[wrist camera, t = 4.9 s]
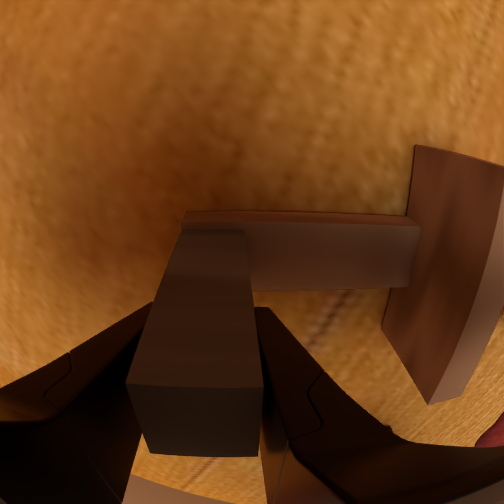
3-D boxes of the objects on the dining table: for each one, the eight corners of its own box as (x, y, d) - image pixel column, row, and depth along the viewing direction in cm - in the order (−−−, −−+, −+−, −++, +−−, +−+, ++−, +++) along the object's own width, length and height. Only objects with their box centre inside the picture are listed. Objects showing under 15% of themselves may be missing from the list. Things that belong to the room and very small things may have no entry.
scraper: (410, 325, 17) (493, 449, 8) (194, 335, 16) (175, 509, 7) (447, 150, 13) (610, 208, 4) (185, 128, 12) (84, 152, 4)
